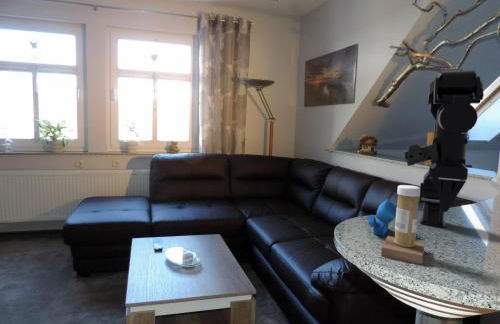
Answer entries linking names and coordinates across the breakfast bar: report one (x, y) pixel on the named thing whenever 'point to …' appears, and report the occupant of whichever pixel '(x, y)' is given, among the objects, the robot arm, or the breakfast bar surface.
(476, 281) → the breakfast bar surface
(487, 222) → the breakfast bar surface
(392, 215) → the blue figurine
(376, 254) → the breakfast bar surface
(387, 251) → the wooden block
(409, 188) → the sprinkles bottle
